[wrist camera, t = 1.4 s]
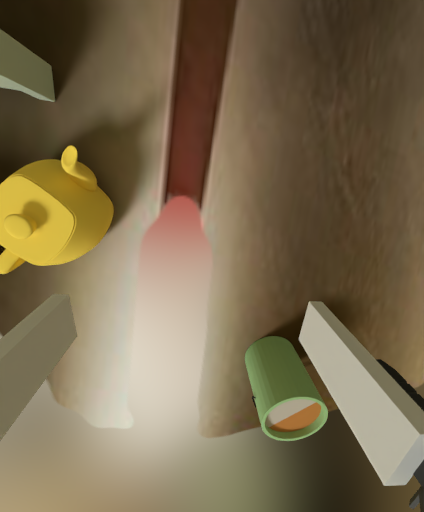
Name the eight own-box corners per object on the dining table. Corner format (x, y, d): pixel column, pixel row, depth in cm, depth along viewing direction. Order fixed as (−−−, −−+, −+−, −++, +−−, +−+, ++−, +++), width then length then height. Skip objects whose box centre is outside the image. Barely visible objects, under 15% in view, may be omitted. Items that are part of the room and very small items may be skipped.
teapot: (78, 121, 27) (8, 92, 17) (149, 186, 30) (125, 193, 20) (9, 224, 31) (-82, 250, 21) (78, 271, 34) (28, 312, 24)
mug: (233, 355, 42) (246, 420, 31) (277, 327, 41) (308, 386, 29) (266, 388, 47) (288, 456, 35) (308, 364, 45) (345, 428, 34)
